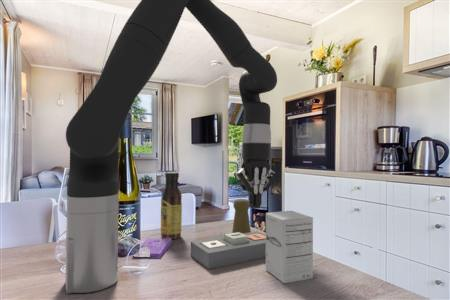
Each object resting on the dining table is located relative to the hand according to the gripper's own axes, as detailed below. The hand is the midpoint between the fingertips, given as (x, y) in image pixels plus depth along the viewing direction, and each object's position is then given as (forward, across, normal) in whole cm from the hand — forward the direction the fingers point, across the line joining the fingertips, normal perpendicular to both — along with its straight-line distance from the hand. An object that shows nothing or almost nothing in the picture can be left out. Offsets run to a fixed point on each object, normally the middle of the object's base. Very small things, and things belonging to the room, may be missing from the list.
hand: (255, 207), depth 77 cm
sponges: (+12, -23, +14) cm, 30 cm away
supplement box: (+12, -3, -16) cm, 20 cm away
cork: (+11, +6, +16) cm, 20 cm away
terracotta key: (+10, 0, 0) cm, 10 cm away
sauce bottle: (+12, -15, +23) cm, 30 cm away
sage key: (+9, -6, 0) cm, 11 cm away
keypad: (+11, -6, 0) cm, 13 cm away
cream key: (+10, -12, 0) cm, 16 cm away
